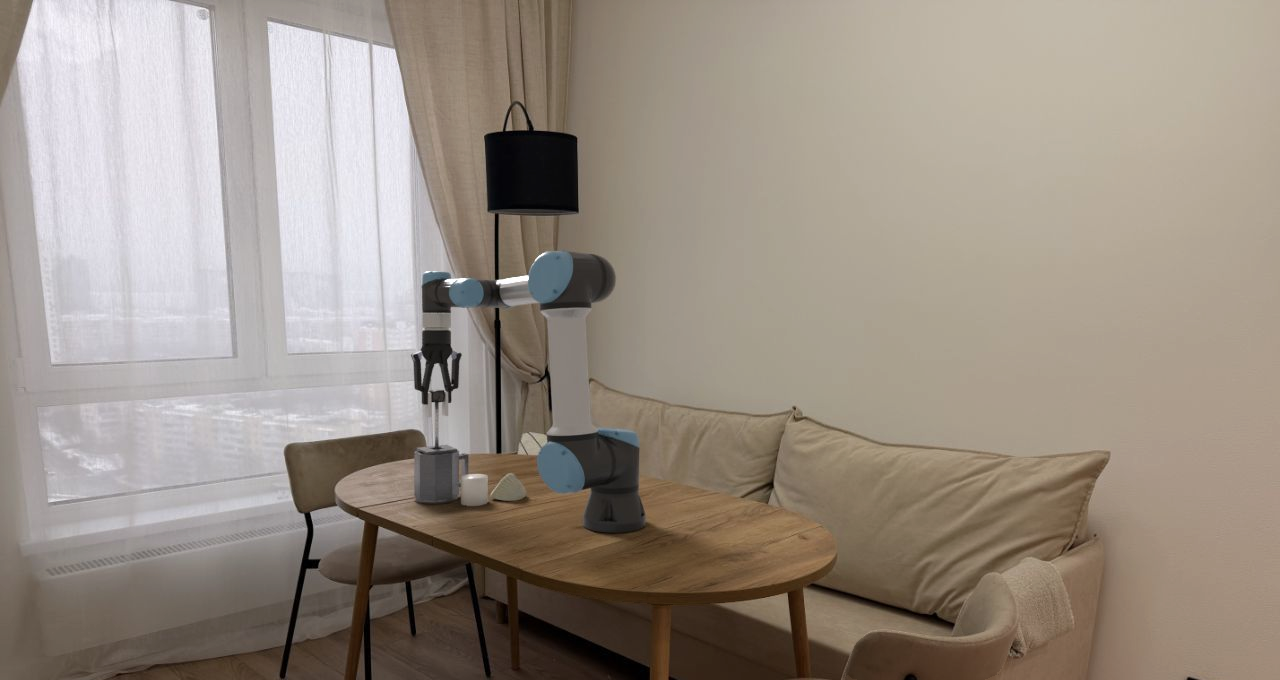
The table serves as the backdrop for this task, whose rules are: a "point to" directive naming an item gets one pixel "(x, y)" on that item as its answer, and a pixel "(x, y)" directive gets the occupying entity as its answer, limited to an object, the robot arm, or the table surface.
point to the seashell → (509, 489)
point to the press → (438, 474)
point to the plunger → (437, 412)
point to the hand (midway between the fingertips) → (436, 415)
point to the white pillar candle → (474, 489)
